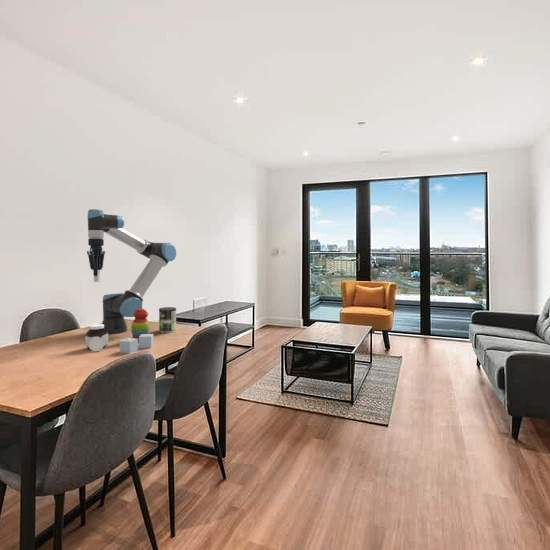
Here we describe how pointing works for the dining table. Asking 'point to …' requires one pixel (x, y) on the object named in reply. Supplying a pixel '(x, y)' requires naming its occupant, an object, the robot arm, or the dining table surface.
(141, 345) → the pip block two
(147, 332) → the stacking bear
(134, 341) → the pip block three
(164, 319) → the coffee can
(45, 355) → the dining table surface
